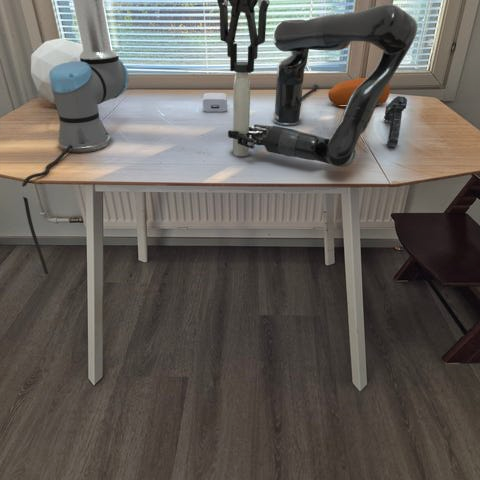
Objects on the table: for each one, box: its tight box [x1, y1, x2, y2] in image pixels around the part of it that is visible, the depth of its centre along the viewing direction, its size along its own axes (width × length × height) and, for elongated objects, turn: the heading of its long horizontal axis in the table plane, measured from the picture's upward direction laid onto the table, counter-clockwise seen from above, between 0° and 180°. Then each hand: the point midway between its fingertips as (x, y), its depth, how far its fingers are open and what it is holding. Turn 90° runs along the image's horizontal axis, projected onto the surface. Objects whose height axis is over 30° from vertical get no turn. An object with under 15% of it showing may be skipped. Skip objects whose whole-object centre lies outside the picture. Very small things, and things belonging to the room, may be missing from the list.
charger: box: [202, 92, 228, 113], centre depth 163 cm, size 5×9×15 cm
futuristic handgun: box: [383, 95, 408, 147], centre depth 138 cm, size 4×29×15 cm, turn 164°
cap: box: [233, 61, 248, 73], centre depth 111 cm, size 5×5×2 cm
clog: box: [327, 76, 391, 109], centre depth 165 cm, size 12×11×25 cm
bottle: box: [232, 72, 251, 157], centre depth 118 cm, size 5×5×25 cm
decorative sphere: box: [30, 37, 83, 105], centre depth 157 cm, size 24×25×25 cm
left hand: (242, 70), depth 111 cm, fingers closed on cap, 4 cm apart
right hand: (233, 130), depth 122 cm, fingers closed on bottle, 4 cm apart
